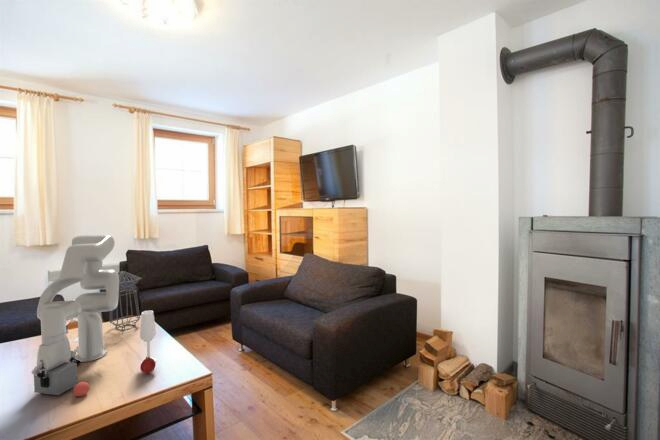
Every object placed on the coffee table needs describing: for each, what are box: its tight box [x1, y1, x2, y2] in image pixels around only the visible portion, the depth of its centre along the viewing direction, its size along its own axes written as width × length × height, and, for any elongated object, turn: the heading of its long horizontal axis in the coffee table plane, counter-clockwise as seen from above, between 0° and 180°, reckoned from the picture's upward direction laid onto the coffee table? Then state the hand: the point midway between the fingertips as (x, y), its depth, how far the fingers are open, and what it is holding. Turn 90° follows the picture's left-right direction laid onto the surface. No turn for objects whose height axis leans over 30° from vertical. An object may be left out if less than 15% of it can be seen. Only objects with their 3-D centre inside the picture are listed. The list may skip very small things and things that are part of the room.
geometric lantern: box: [109, 270, 143, 332], centre depth 194 cm, size 16×16×35 cm
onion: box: [139, 356, 156, 375], centre depth 140 cm, size 6×6×8 cm
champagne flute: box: [139, 310, 158, 364], centre depth 151 cm, size 7×7×24 cm
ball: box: [72, 381, 90, 397], centre depth 124 cm, size 5×5×5 cm
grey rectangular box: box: [33, 362, 79, 396], centre depth 127 cm, size 11×8×9 cm
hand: (56, 380), depth 127 cm, fingers closed on grey rectangular box, 7 cm apart
